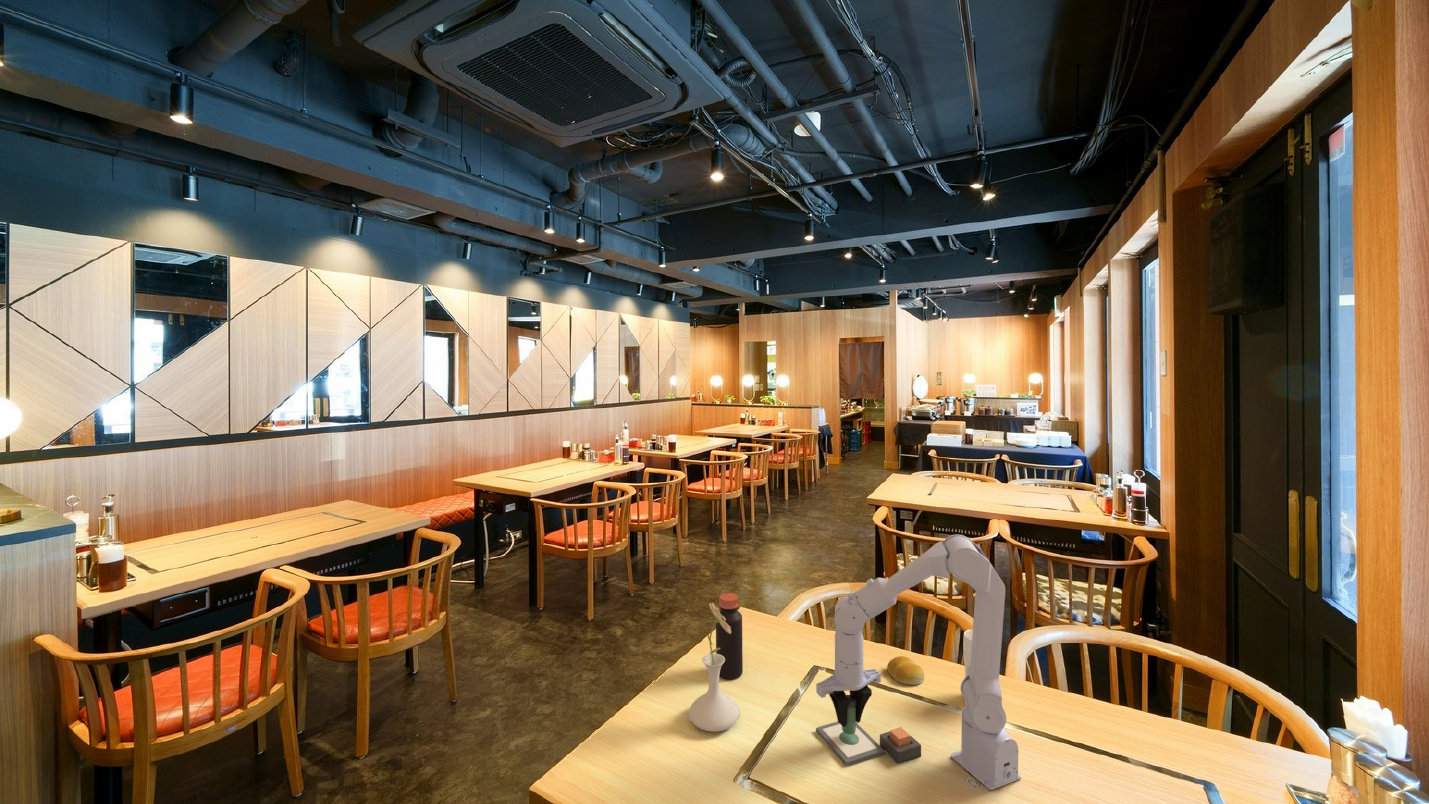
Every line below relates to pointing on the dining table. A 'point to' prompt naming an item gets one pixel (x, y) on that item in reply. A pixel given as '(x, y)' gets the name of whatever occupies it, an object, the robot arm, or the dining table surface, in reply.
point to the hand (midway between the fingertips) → (848, 721)
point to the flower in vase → (714, 692)
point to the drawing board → (849, 743)
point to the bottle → (730, 637)
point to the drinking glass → (967, 648)
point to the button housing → (900, 749)
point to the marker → (851, 716)
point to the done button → (900, 737)
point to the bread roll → (905, 671)
